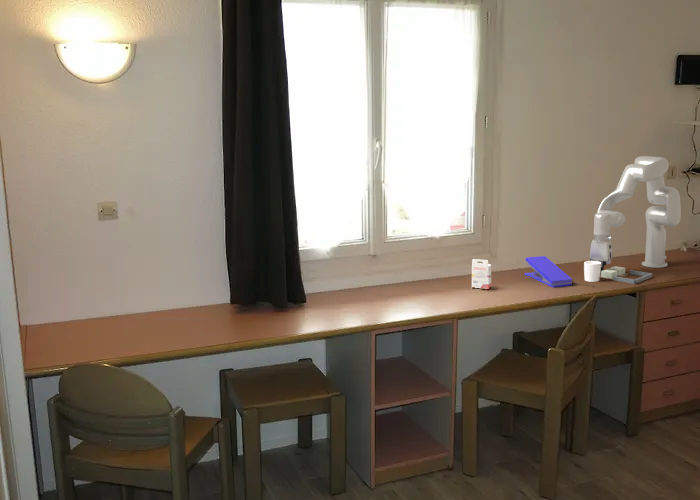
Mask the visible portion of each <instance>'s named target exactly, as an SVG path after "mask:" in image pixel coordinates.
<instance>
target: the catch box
mask: <svg viewBox="0 0 700 500" xmlns="http://www.w3.org/2000/svg"><path fill="white" fill-rule="evenodd" d="M629 275H634V276H640V277H637V278H635V279H632V278H627V277H616V276H613V280H612V281H615V282H621V283H626V284H634V285H636V284H639V283H642V282H644V281H647V280H649V279H651V278H653V275H654V273H651V272H645V271H639V270H634V269H633V270H632V269H630V270H629Z"/></svg>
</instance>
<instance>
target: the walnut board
mask: <svg viewBox="0 0 700 500" xmlns="http://www.w3.org/2000/svg"><path fill="white" fill-rule="evenodd" d="M628 275H629V273H627V272H625V274H623V275H620V276H618V275H617V277H622V278H624V277H626V276H628ZM600 279H606V280H612V281H614V280H613V278H612V279H610V278H604V277H601V275H600Z"/></svg>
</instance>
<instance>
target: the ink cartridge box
mask: <svg viewBox="0 0 700 500" xmlns="http://www.w3.org/2000/svg"><path fill="white" fill-rule="evenodd" d="M480 262H481V263H480ZM472 287H475V288H485V289H489V288H490V287H491V288H492V264H489V260H488V259H479V258H478V259H475V258H473V259H471V288H472ZM491 288H490V289H491ZM490 289H489V290H490Z"/></svg>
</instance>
